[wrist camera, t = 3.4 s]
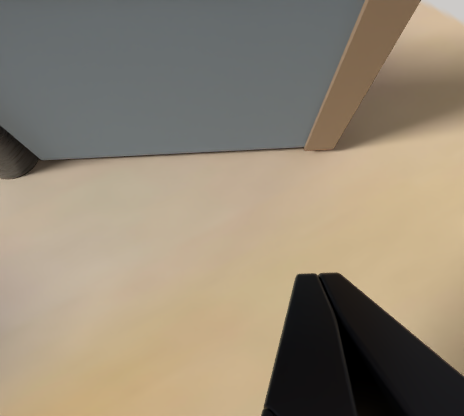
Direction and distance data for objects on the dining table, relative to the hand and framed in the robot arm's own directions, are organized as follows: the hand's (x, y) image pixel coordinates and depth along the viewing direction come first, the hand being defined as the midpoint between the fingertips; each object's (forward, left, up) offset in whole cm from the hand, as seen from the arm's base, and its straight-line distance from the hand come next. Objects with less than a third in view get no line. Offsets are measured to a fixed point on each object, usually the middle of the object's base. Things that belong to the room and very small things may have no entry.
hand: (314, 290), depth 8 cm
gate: (+9, -3, -10) cm, 14 cm away
